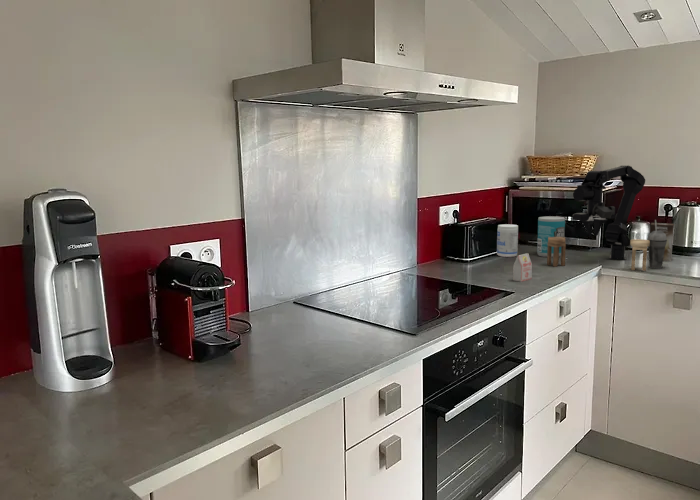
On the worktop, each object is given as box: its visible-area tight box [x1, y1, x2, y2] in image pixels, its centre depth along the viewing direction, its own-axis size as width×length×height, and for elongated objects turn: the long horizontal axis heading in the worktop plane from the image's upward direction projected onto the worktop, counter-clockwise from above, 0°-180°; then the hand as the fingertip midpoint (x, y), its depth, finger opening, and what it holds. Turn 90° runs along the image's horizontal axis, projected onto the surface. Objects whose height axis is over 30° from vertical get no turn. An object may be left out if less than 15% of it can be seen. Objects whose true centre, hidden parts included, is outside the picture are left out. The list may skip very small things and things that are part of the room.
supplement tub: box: [496, 223, 519, 258], centre depth 269 cm, size 10×10×15 cm
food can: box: [536, 215, 566, 258], centre depth 266 cm, size 12×12×18 cm
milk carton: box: [512, 252, 533, 283], centre depth 217 cm, size 4×7×10 cm, turn 128°
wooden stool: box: [546, 236, 567, 268], centre depth 243 cm, size 7×7×12 cm
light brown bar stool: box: [630, 238, 650, 272], centre depth 230 cm, size 7×7×12 cm
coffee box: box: [647, 222, 675, 262], centre depth 249 cm, size 9×6×16 cm
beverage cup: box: [646, 219, 667, 270], centre depth 231 cm, size 7×7×20 cm
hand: (593, 235), depth 245 cm, fingers open, 3 cm apart
